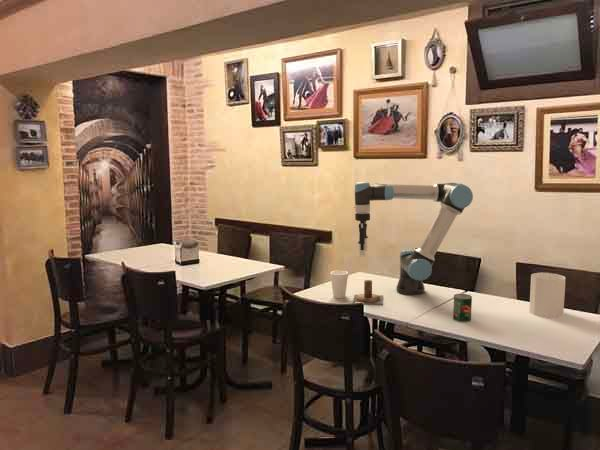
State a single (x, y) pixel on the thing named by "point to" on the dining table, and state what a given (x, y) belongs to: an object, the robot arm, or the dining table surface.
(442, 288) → the dining table surface
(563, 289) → the container
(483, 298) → the dining table surface
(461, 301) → the canned tomato
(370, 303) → the mat
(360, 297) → the lid
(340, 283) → the foam cup
